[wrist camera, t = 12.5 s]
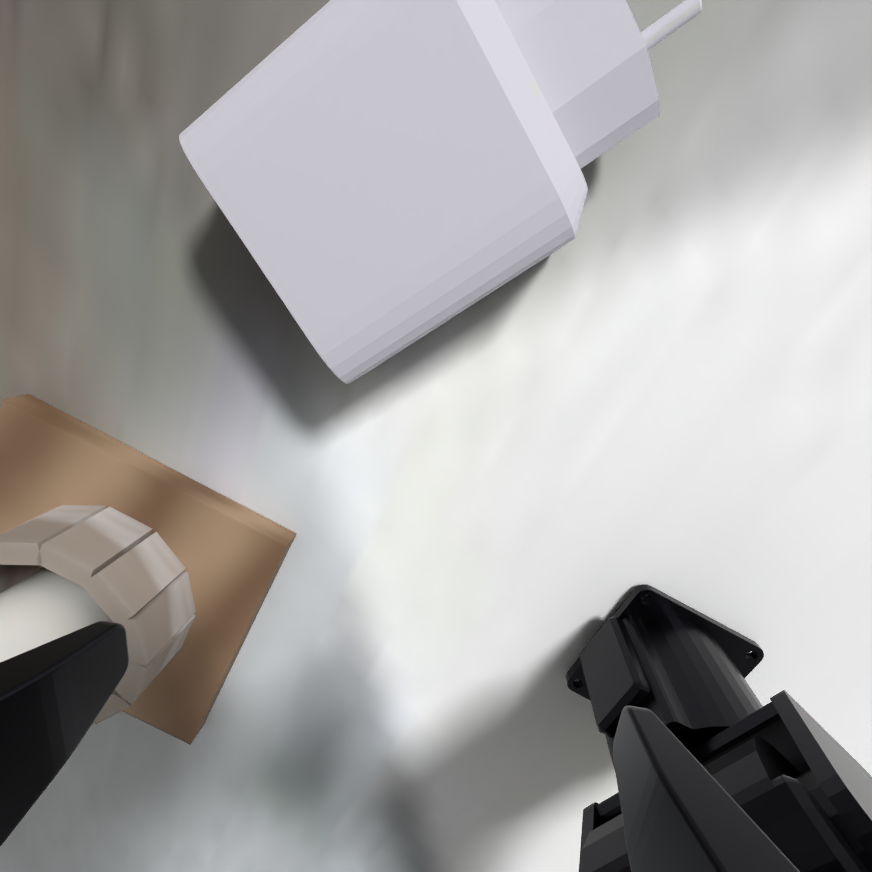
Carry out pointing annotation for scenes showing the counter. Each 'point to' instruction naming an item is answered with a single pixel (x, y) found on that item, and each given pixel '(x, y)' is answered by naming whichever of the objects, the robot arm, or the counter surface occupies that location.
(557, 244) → the charger
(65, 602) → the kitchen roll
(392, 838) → the counter surface
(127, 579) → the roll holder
